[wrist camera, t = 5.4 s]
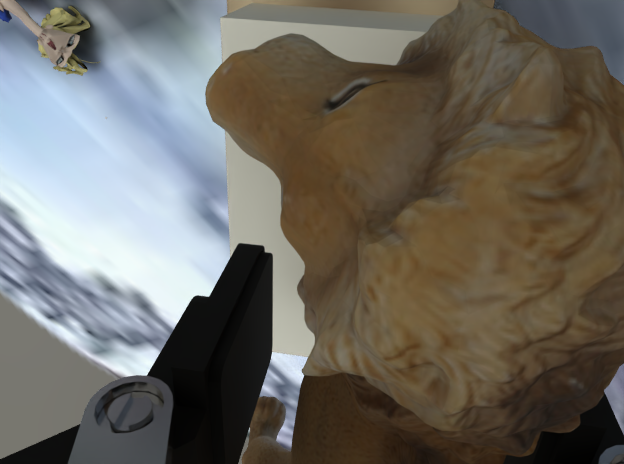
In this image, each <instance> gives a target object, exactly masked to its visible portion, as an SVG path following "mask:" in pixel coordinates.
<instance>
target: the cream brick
mask: <svg viewBox="0 0 624 464" xmlns="http://www.w3.org/2000/svg"><path fill="white" fill-rule="evenodd" d="M441 17H443V16H441V15H426V14H411V13H396V12H381V11H366V10H351V9H336V8H321V7H306V6H291V5H276V4H261V3H251V4H249V5H246V6H244V7H242V8H240V9H238V10H236V11H233V12H231V13H229V14H227V15H225V16H223V17H221V18H220V22H221V45H222V63H223V62H224V61H225V60H226V59H227V58H228V57H229V56H230V55H231V54H233V53H236V52H239V51H242V50H250V49H255V48H256V47H258V46H259V45H261V44H263V43H264V42H266V41H268V40H271V39H273V38H276V37H279V36H283V35H286V34H289V33H293V34H300V35H304V36H306V37H308V38H310V39H312V40H314V41H315V42H317V43H318V44H320V45H321V46H323V47H324V48H325V49H327V50H328V51H330V52H331V53H332V54H334V55H336V56H339V57H341V58H343V59H345V60H347V61H352V62H363V63H376V64H386V65H396V64H397V63H398V61H399V60H400V58H401V55H402V52H403V50H404V49H405V47H406V46H407V45H408V43H409V42H410V41H413V40H416V39H418V38H419V37H421V36H422V35H423V34H425V33H426V32H428V30H429V28H430V27H431V25H432V24H433V23H434V22H436V21H437V20H438V19H439V18H441ZM225 140H226V164H227V187H228V211H229V234H230V258H231V256H232V254H233V252H234V250H235V248H236V247H237V245H238V244H239V243H245V244H254V245H263V246H264V248H265V252H268V253H272V255H273V346H272V352H276V353H283V354H290V355H297V356H304V357H309V355H310V353H311V351H312V349H313V346H314V343H315V336H314V334H313V333H312V332H311V331H310V330H309V329H308V328H307V326H306V323H305V320H304V309H305V305H304V303H303V302H302V300H301V298H300V297H299V295H298V292H297V286H298V283H299V281H300V280H301V278H302V276H303V275H304V270H305V265H304V261H303V260H302V259H301V257H300V256H299V254H298V253H297V252H296V250H295V249H294V248H293V247H292V245H291V244H290V243H289V242H288V240H287V239H286V238H285V236H284V234H283V231H282V229H281V226H280V215H281V184H280V181H279V179H278V177H277V176H276V175H275V173H274V172H273V171H272V170H271V169H270V168H269V167H267V166H266V165H265V164H263V163H261V162H260V161H258V160H256V159H254V158H252V157H251V156H249V155H248V154H246V153H245V152H244V151H243V150H242V149H241V148H240V147H239V146H238V145H237V144H236V143H235V142H234V140H233V139H232V138H231V136H230V135H229V134H228V132H227V131H225Z"/></svg>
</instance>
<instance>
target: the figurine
mask: <svg viewBox="0 0 624 464" xmlns="http://www.w3.org/2000/svg"><path fill="white" fill-rule="evenodd" d="M68 8H69V9H71V10H72V11H73V12H74V13H76V14H77V15H76V16H75V17H74V16H72V15H70V14H69V13H67V12H66V11H65V10H64V9H62V8H61V9H60V8H55V9H52V10H51V11H50V14H51V15H50V14H47V15H46V18H44V19H43V20H42V23H41V25H42V26H41V27H40V26H39V25H38V24H37V23H36V22H35V21H34V20H33V19H32V18H31V17H30V16H29V14H28V13H27V12H26V11H25V10H24V9H23V8H22V7H21V6H20V5H19V4H18V3H17V2H16V1H15V0H0V19H2V20H3V21H6V22H9V21H10V19H12V17H11V15H10V14H9V11H10V12H11V13H13V14H14V15H16V16H17V17H18V18H20V19H21V20H22V21H23V23H24V24H25V25H26V26H27V27H28V28H29V29H30V30H31V31H32V32H33V33H34V34H35V35H36V36H37V37H38V38H39V40H37V41H38V45H39V51H40V52H41V53H42V56H41V57H45V58H50V60H51V62H52V63H53V64H55V65H57V66H55V67H53V68H54V69H57V70H58V71H67V73H66V74H79V75H83V72H87V70H88V69H87V67H86V66H85V65H84V64H83V63H82V62H81V61H80V59H78V57H77V56H75V55H74V54H73V53H72V50H73V49H74V48H75V47H76V46H77V44H78V42H79V38H80V36H79V35H76V34H75V33H77V32H80V31H85V30H88V29H89V28H90V24H89V22H88V21H87V20H86V19H85V18H83V17H82V16H81V15H80V13H79V12H78V11H77V10H76V9H75V8H74V7H72V6H69V7H68ZM82 20H83V21H84V22H85V23H83V24H81V25H77V24H79V23H81V21H82ZM82 61H83V60H82ZM85 62H86V61H85ZM66 63H67V65H68V66H67V67H65V68H64V67H63V66H65V64H66ZM89 63H93V62H89ZM97 63H99V62H97ZM78 64H80V65H81V66H82V67H83V68H84V69H82V68H80V67H79V66H78ZM71 69H75V70H76V71H72V70H71ZM105 118H106V119H107V117H105Z"/></svg>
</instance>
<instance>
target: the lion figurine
mask: <svg viewBox="0 0 624 464" xmlns="http://www.w3.org/2000/svg"><path fill="white" fill-rule="evenodd" d="M205 95H206V105H207V107H208V110H209V112H210V115H211V118H212V120H213V122H215V123H216V124H218V125H219V126H221V127H222V128H223V129H224V130H225V131H227V132H228V134H229V135H230V136H231V138H232V139H233V140H234V142H235V143H236V144H237V145H238V146H239V147H240V148H241V149H242V150H243V151H244V152H245V153H246V154H248V155H249V156H251V157H252V158H254V159H256V160H258V161H260V162H261V163H263V164H265V165H266V166H267V167H269V168H270V169H271V170H272V171H273V172H274V173H275V175H276V176H277V177H278V179H279V181H280V184H281V215H280V226H281V229H282V231H283V234H284V236H285V238H286V239H287V240H288V242H289V243H290V244H291V245H292V247H293V248H294V249H295V250H296V252H297V253H298V254H299V256H300V257H301V259H302V260H303V261H304V265H305V270H304V275H303V276H302V278H301V280H300V281H299V283H298V286H297V292H298V295H299V297H300V298H301V300H302V302H303V303H304V305H305V309H304V320H305V323H306V326H307V328H308V329H309V330H310V331H311V332H312V333H313V334H314V336H315V343H314V346H313V349H312V351H311V353H310V355H309V357H308V359H307V362H306V364H305V366H304V368H303V369H302V373H303V374H304V378H303V381H302V384H301V388H300V394H299V400H298V406H297V412H296V418H295V425H294V431H293V439H292V449H291V452H290V451H288V450H286V449H284V448H283V447H282V446H281V445H280V444H279V443H278V442H277V441H276V438H277V435H278V432H279V431H280V429H281V427H282V426H283V423H284V421H285V415H286V408H285V406H284V404H283V403H282V402H280V401H279V400H278V399H277V398H275V397H266V396H263V397H259V398H258V401H257V405H256V408H255V411H254V414H253V417H252V421H251V424H250V436H249V444H248V448H247V450H246V451H245V453H244V454H243V457H242V464H503V463H504V460H505V458H506V455H511V456H516V457H523V456H528V455H530V454H532V453H533V452H534V450H535V448H536V445H537V441H538V439H539V436H540V433H541V431H547V432H556V433H565V432H571V431H573V430H574V429H575V428H577V427H578V426H579V425H580V414H582V413H584V412H586V411H587V410H589V409H591V408H593V407H595V406H597V404H598V403H599V401H600V400H601V398H602V397H603V395H604V389H605V388H606V387H607V386H608V385H609V384H610V382H611V381H612V379H613V377H614V376H615V374H616V372H617V370H618V368H619V366H621V365H622V364H624V85H623V84H622V83H620V82H619V81H618V80H617V79H615V78H614V77H613V76H612V75H610V73H609V71H608V69H607V66H606V64H605V62H604V59H603V55H602V53H601V51H600V50H599V49H598V48H597V47H594V46H587V47H580V48H574V49H560V48H556V47H554V46H552V45H550V44H548V43H547V42H545V41H544V40H543V39H541V38H540V37H538V36H537V35H536V34H534V33H533V32H531V31H529V30H527V29H525V28H523V27H521V26H520V25H519V23H518V21H517V20H516V19H515V18H514V17H513V16H512V15H510V14H509V13H507V12H506V11H504V10H499V9H493V8H490V7H488V6H486V5H485V4H484V3H483V2H481V1H480V0H459V1H458V5H457V8H456V9H454V10H453V11H452V12H451V13H449V14H447V15H445V16H443V17H441V18H439V19H438V20H437V21H436V22H434V23H433V24H432V25H431V27H430V28H429V30H428V32H426V33H425V34H423V35H422V36H421V37H419V38H418V39H416V40H413V41H410V42H409V43H408V45H407V46H406V47H405V49H404V50H403V52H402V55H401V58H400V60H399V61H398V63H397V64H396V65H386V64H376V63H363V62H352V61H347V60H345V59H343V58H341V57H339V56H336V55H334V54H332V53H331V52H330V51H328V50H327V49H325V48H324V47H323V46H321V45H320V44H318V43H317V42H315V41H314V40H312V39H310V38H308V37H306V36H304V35H300V34H293V33H289V34H286V35H283V36H279V37H276V38H273V39H271V40H268V41H266V42H264V43H263V44H261V45H259V46H258V47H256V48H255V49H250V50H242V51H239V52H236V53H233V54H231V55H230V56H229V57H228V58H227V59H226V60H225V61H224V62H223V63H222V64H221V65H220V66H219V68H218V69H217V70H216V71H215V73H214V74H213V75H212V76H211V78H210V79H209V82H208V84H207V87H206V93H205Z"/></svg>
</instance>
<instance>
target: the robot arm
mask: <svg viewBox="0 0 624 464" xmlns="http://www.w3.org/2000/svg"><path fill="white" fill-rule="evenodd" d="M272 346H273V255H272V253H268V252H265V248H264V246H263V245H254V244H245V243H239V244H238V245H237V247H236V248H235V250H234V252H233V254H232V256H231V258H230V260H229V261H228V263H227V265H226V267H225V269H224V271H223V272H222V274H221V276H220V278H219V280H218V282H217V284H216V285H215V287H214V289H213V291H212V293H211V295H210V296H209V297H205V296H195V297H193V299H192V300H191V301H190V303H189V305H188V306H187V308H186V310H185V312H184V313H183V315H182V317H181V318H180V320H179V322H178V323H177V325H176V327H175V329H174V330H173V332H172V334H171V335H170V337H169V339H168V340H167V342H166V344H165V346H164V347H163V349H162V351H161V352H160V354H159V356H158V358H157V359H156V361H155V363H154V364H153V366H152V368H151V369H150V371H149V373H148V375H147V376H139V375H136V376H130V377H124V378H121V379H118V380H116V381H113V382H111V383H109V384H108V385H106V386H104V387H103V388H101V389H100V390H99V391H98V392H97V393H96V394H95V395H94V396H93V397H92V398H91V399H90V401H89V403H88V405H87V407H86V409H85V411H84V415H83V418H82V421H81V424H79V425H77V426H75V427H73V428H71V429H68V430H66V431H64V432H61V433H59V434H57V435H55V436H52V437H50V438H48V439H46V440H43V441H41V442H39V443H36V444H34V445H32V446H30V447H27V448H25V449H23V450H21V451H18V452H16V453H14V454H11V455H9V456H7V457H5V458H2V459H0V464H238V462H239V459H240V455H241V452H242V449H243V446H244V443H245V440H246V436H247V433H248V430H249V427H250V424H251V421H252V417H253V414H254V411H255V408H256V405H257V401H258V398H259V395H260V392H261V389H262V386H263V382H264V379H265V376H266V373H267V370H268V366H269V363H270V360H271V355H272ZM503 464H624V435H623V433H622V430H621V428H620V426H619V424H618V422H617V419H616V417H615V415H614V413H613V410H612V408H611V406H610V404H609V401H608V399H607V397H606V395H605V393H604V395H603V397H602V398H601V400H600V401H599V403H598V404H597V406H595V407H593V408H591V409H589V410H587V411H586V412H584V413H582V414H580V425H579V426H578V427H577V428H575V429H574V430H573V431H571V432H565V433H556V432H547V431H541V433H540V436H539V439H538V441H537V445H536V448H535V450H534V452H533V453H532V454H530V455H528V456H523V457H516V456H511V455H506V458H505V460H504V463H503Z"/></svg>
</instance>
